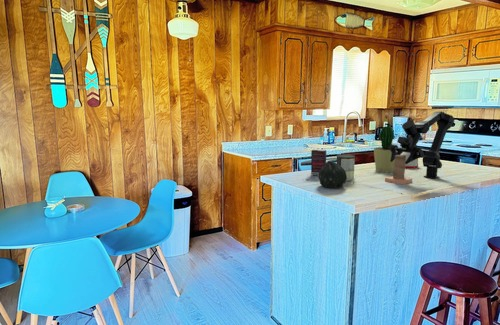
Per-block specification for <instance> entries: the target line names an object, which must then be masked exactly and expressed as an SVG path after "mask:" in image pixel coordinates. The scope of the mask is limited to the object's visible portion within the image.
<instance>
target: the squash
mask: <svg viewBox="0 0 500 325" xmlns="http://www.w3.org/2000/svg"><path fill="white" fill-rule="evenodd" d="M317 178H318V180H319V184H320V185H321V186H322V187H324V188H328V189H330V188H333V189H337V188H338V189H339V188H342V187H343V186H344V184H346V182H347V181H346V179H347V176H346V172H345V170H344V169H343V168H342V167H341V166H340V165H338V164H337V162H334V161H332V160H327V161H326V164H325V165H324V166H323V167H322V168H321V170H320V172H319V176H317Z"/></svg>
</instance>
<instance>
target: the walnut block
mask: <svg viewBox="0 0 500 325" xmlns="http://www.w3.org/2000/svg"><path fill="white" fill-rule="evenodd" d="M405 162H406V155H401V154H398V155H395V162H394V171H393V172H392V173H393V174H392V176H393V178H396V179H403V178H404V177H405V171H406V168H405Z"/></svg>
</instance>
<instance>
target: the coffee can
mask: <svg viewBox="0 0 500 325" xmlns="http://www.w3.org/2000/svg"><path fill="white" fill-rule="evenodd" d="M355 159H356V156H355V155H352V154H336V164H338V165H340V166H341V167H342V168H343V169H344V170H345V172H346V176H347V179H346V181H345V182H349V180H353V179H355Z"/></svg>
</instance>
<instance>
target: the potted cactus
mask: <svg viewBox="0 0 500 325" xmlns="http://www.w3.org/2000/svg"><path fill="white" fill-rule="evenodd" d="M393 129H394V128H393ZM393 129H392V127H391V126H386V125H385V126H383V127H382V128H380V131H379V136H378V138H379V139H378V140H380V141H379V142H380V144H381V147H374V148H373V155H374V165H375V171H376V172H382V173H393V172H394V162H395V159H394V160H393V161H392V162H391V161H390V160H391V154H392V152H391V151H390V149H389V146H390V145H393V140H395V135H394V131H393Z"/></svg>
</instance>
